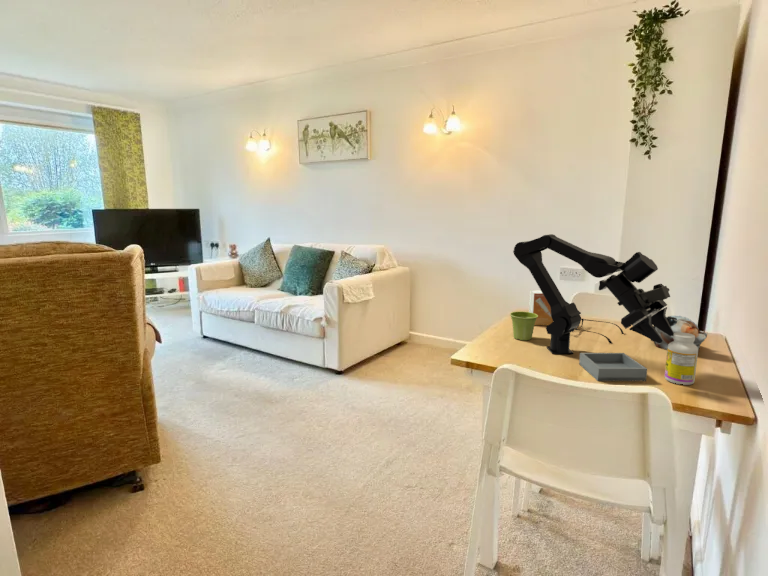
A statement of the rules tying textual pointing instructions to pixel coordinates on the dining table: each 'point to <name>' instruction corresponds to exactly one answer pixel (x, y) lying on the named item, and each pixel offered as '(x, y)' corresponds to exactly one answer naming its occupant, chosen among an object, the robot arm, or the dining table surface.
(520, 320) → the plant pot
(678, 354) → the supplement bottle
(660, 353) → the dining table surface
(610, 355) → the tray
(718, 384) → the dining table surface
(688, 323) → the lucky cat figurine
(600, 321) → the eyeglasses
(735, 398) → the dining table surface
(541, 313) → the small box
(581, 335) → the dining table surface
